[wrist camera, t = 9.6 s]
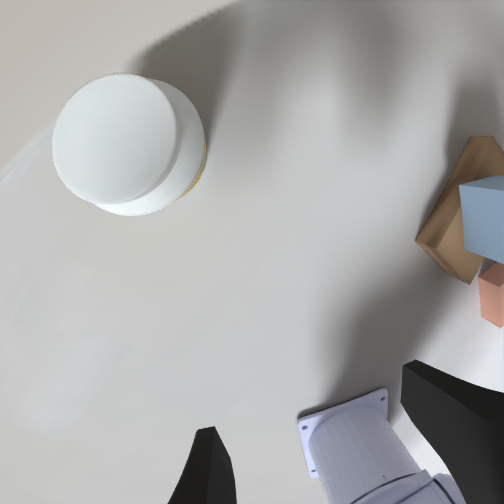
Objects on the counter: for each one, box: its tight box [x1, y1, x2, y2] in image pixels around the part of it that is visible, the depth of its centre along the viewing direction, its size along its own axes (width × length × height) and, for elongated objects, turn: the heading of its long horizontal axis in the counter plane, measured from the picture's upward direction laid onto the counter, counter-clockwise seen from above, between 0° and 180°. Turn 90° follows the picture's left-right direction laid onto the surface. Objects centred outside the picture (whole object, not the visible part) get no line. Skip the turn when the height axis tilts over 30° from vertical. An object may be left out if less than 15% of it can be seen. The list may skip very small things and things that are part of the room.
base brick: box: [415, 136, 504, 285], centre depth 20 cm, size 10×5×3 cm, turn 146°
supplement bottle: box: [52, 73, 207, 216], centre depth 13 cm, size 5×5×10 cm
